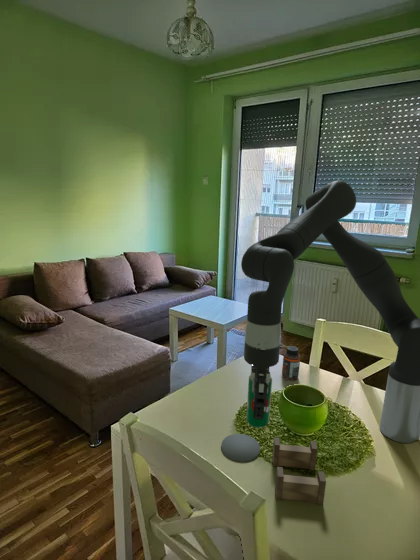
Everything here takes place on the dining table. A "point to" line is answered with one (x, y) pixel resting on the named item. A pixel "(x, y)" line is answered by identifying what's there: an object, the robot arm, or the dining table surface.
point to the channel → (297, 485)
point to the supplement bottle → (291, 363)
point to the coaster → (240, 447)
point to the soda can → (250, 406)
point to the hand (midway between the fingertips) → (257, 410)
